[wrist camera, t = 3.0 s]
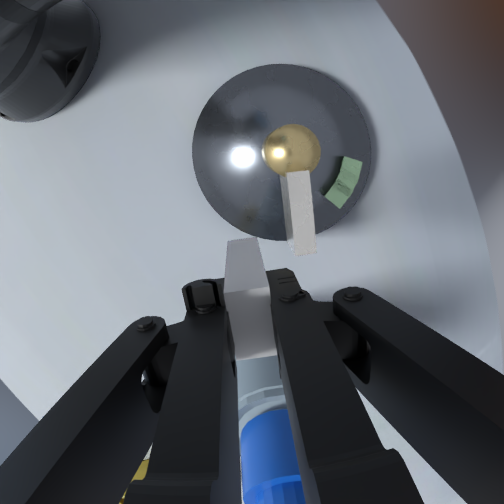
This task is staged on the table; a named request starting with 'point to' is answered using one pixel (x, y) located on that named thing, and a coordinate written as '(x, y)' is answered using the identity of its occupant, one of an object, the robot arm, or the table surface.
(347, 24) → the table surface
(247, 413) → the spray bottle
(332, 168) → the gauge plate
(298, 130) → the needle dial
